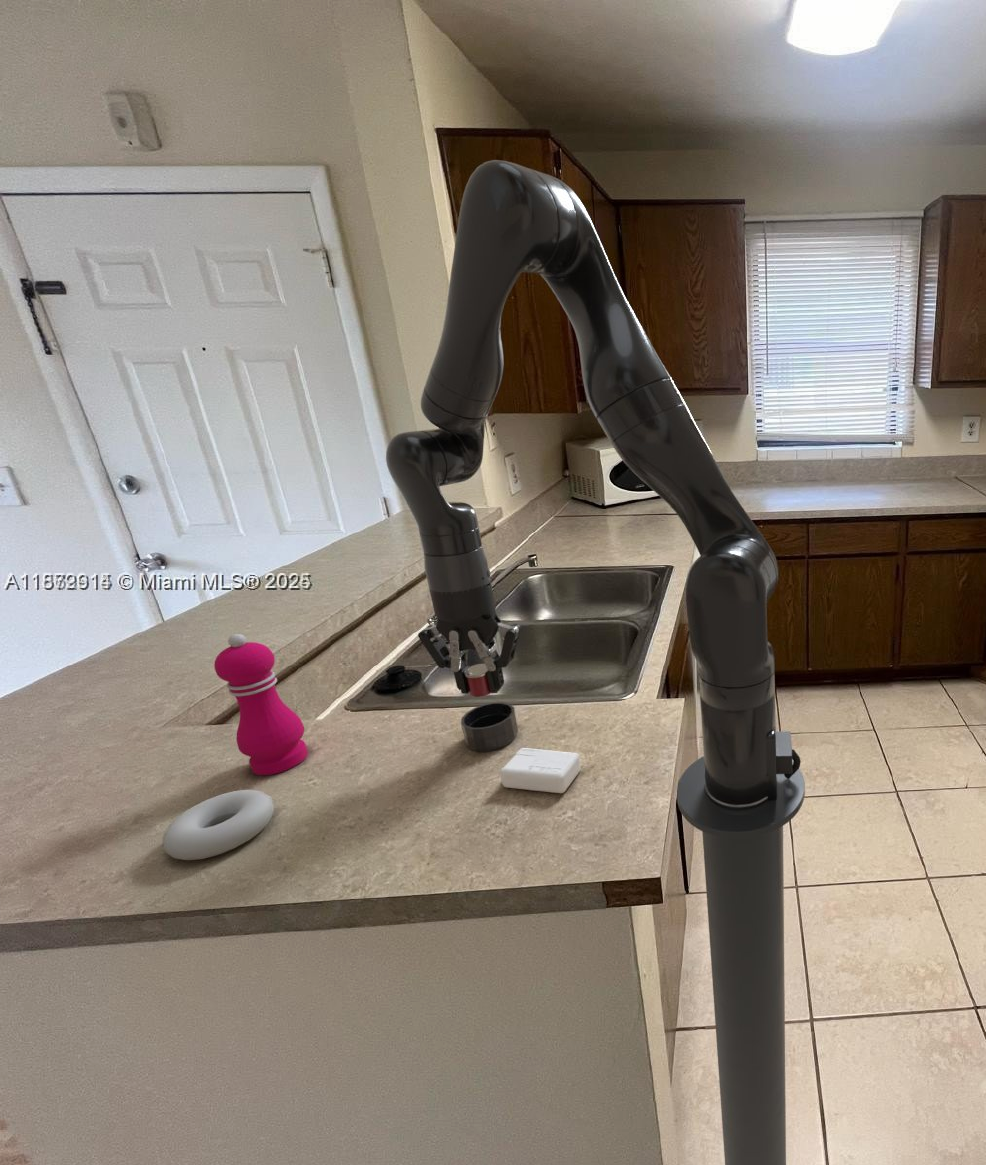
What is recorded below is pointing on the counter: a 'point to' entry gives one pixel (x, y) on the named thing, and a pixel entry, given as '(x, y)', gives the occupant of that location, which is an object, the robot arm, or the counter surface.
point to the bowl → (489, 726)
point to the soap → (541, 770)
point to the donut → (218, 825)
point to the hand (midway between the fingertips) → (482, 690)
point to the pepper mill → (260, 708)
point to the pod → (477, 680)
